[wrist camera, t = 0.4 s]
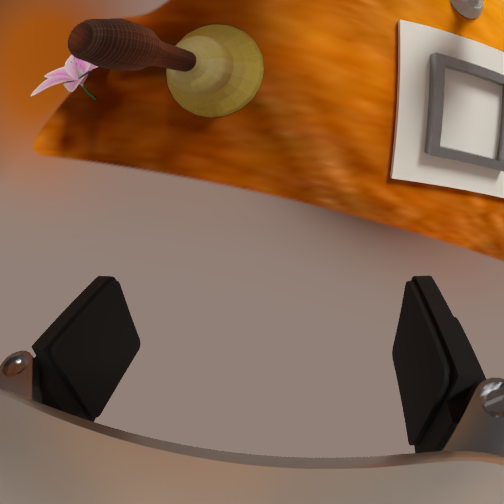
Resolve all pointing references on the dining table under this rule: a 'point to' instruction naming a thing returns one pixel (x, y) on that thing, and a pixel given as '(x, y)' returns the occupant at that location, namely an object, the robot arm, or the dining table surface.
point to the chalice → (468, 7)
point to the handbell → (179, 61)
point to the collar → (437, 103)
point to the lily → (68, 75)
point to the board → (446, 111)
